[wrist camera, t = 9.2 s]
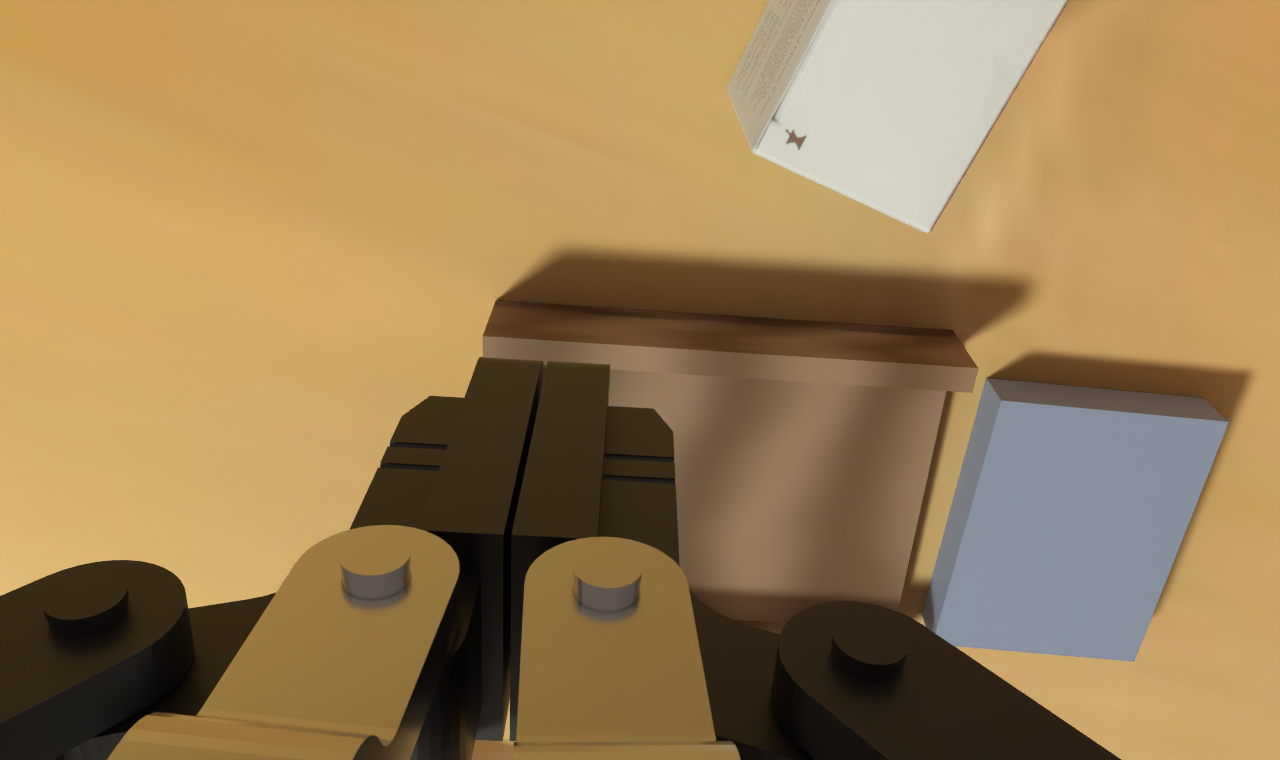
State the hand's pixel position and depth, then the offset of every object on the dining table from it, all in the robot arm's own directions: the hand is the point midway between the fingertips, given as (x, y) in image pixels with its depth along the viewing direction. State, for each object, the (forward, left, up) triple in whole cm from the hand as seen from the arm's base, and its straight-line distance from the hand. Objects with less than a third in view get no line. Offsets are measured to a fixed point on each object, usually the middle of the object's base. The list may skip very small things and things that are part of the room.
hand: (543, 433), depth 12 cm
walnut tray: (-5, +17, -27) cm, 32 cm away
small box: (-8, -2, -27) cm, 28 cm away
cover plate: (-20, +17, -28) cm, 38 cm away
